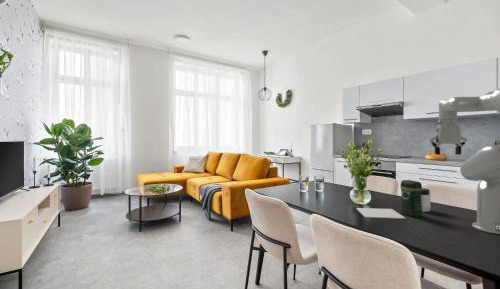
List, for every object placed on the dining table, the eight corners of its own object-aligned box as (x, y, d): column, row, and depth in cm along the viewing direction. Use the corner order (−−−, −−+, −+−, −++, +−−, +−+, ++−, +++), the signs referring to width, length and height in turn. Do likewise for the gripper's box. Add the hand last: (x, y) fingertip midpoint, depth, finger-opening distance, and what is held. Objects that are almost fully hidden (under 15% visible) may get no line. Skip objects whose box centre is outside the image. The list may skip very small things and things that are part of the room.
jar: (432, 209, 136) (432, 189, 136) (428, 212, 131) (428, 191, 131) (414, 206, 143) (414, 187, 143) (409, 209, 138) (409, 188, 138)
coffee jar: (425, 216, 125) (425, 181, 124) (412, 217, 123) (412, 182, 123) (409, 211, 134) (409, 178, 134) (397, 212, 133) (397, 179, 132)
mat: (405, 218, 122) (405, 217, 122) (365, 217, 125) (365, 216, 125) (391, 209, 138) (391, 208, 138) (356, 208, 141) (356, 207, 141)
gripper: (433, 122, 126) (433, 154, 126) (471, 121, 122) (471, 154, 123) (426, 123, 133) (426, 154, 133) (461, 122, 130) (461, 154, 130)
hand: (447, 154), depth 128 cm, fingers open, 9 cm apart
